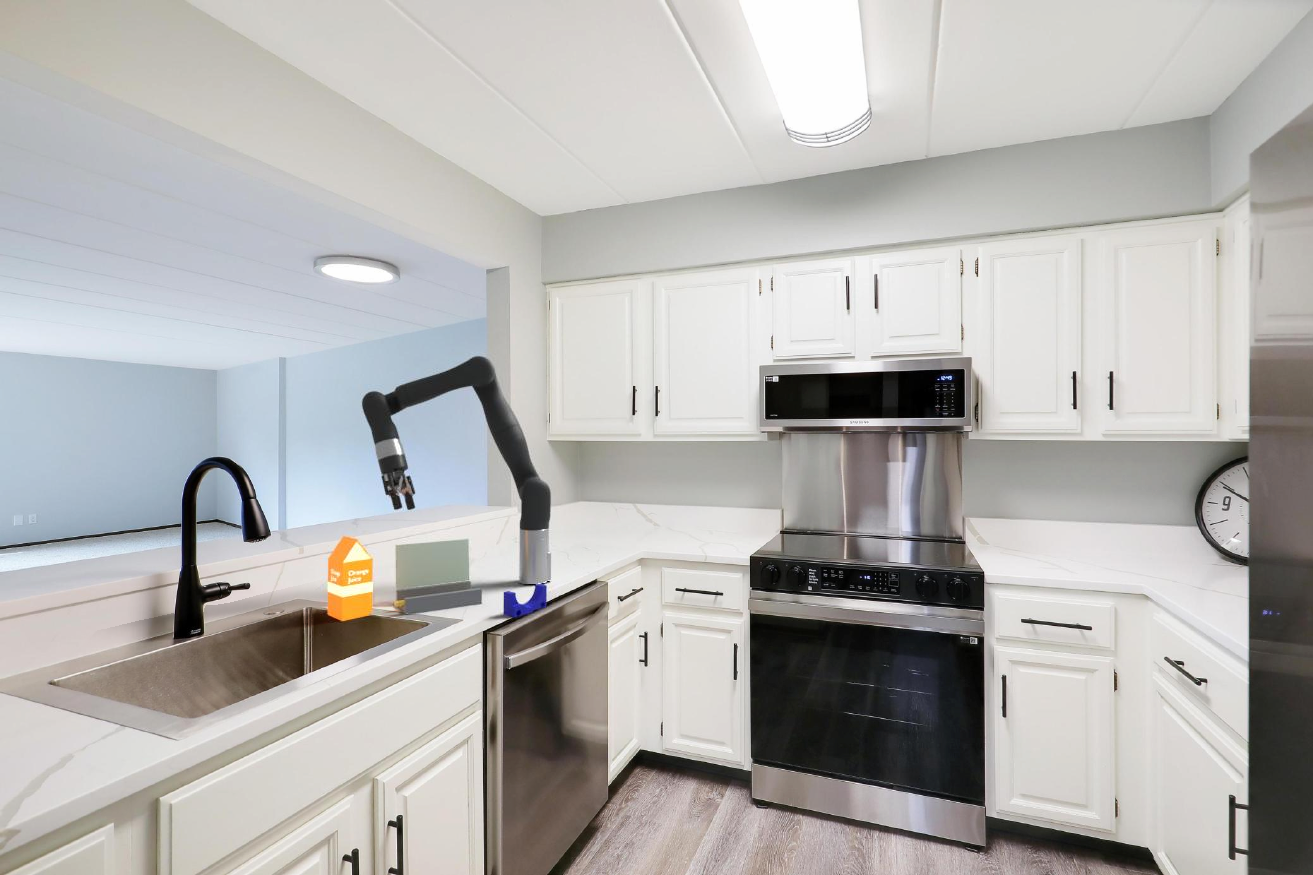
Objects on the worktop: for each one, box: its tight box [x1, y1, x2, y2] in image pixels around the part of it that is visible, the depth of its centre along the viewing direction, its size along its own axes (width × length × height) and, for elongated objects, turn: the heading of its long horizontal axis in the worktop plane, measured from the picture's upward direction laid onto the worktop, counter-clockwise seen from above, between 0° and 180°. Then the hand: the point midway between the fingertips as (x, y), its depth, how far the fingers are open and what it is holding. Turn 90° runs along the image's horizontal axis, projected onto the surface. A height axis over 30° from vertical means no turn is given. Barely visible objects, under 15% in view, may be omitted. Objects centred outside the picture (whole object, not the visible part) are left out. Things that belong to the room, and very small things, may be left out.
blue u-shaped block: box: [502, 584, 548, 618], centre depth 160 cm, size 12×4×6 cm, turn 141°
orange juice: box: [327, 535, 374, 622], centre depth 155 cm, size 8×9×20 cm
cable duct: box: [393, 580, 483, 614], centre depth 166 cm, size 23×12×4 cm, turn 124°
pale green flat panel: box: [395, 538, 470, 590], centre depth 172 cm, size 20×12×1 cm
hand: (405, 509), depth 176 cm, fingers open, 8 cm apart
